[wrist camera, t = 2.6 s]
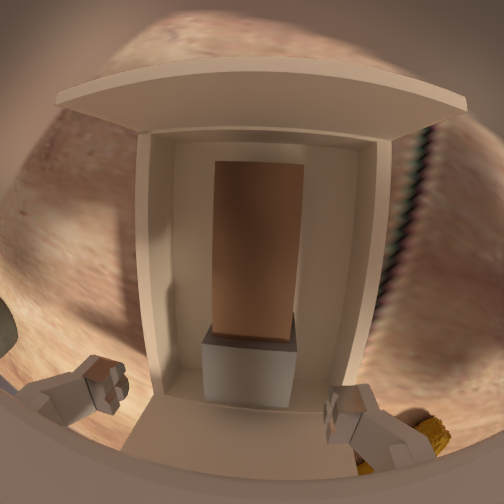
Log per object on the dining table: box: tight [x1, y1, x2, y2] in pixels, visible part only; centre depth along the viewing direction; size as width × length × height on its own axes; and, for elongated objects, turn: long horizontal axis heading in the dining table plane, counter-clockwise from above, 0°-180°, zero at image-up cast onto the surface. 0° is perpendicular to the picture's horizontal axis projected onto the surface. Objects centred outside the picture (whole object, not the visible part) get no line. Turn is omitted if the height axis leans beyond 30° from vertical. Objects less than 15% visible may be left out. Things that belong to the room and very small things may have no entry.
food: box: [356, 417, 451, 476], centre depth 24 cm, size 21×6×6 cm, turn 143°
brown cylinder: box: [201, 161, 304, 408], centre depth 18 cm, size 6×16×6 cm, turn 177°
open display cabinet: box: [55, 56, 467, 480], centre depth 16 cm, size 16×22×13 cm
